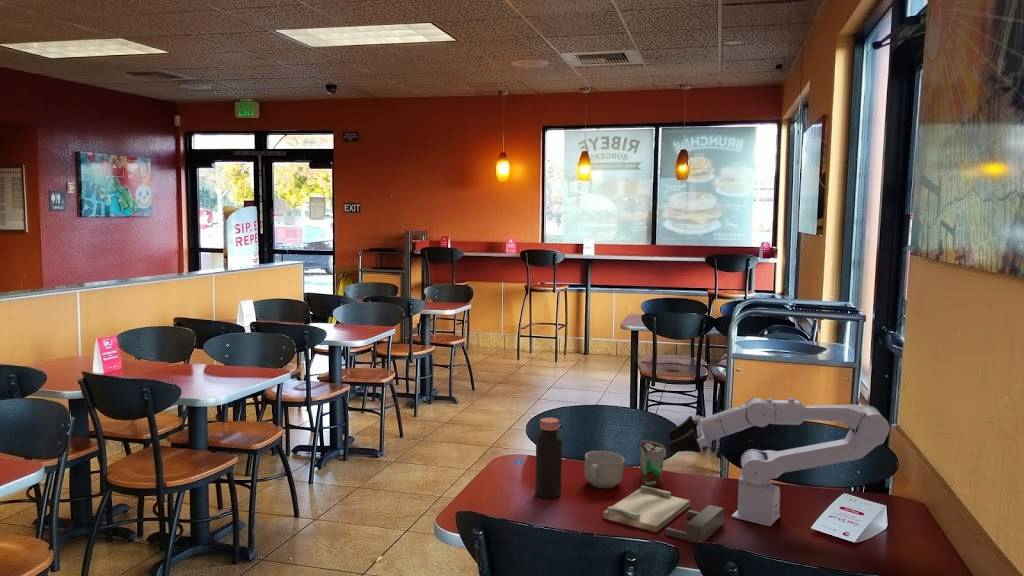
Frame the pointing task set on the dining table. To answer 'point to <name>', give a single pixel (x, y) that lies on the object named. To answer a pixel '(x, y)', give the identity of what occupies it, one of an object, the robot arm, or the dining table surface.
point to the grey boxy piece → (699, 524)
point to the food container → (651, 462)
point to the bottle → (548, 460)
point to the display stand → (647, 509)
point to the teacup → (603, 468)
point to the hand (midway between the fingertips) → (669, 442)
